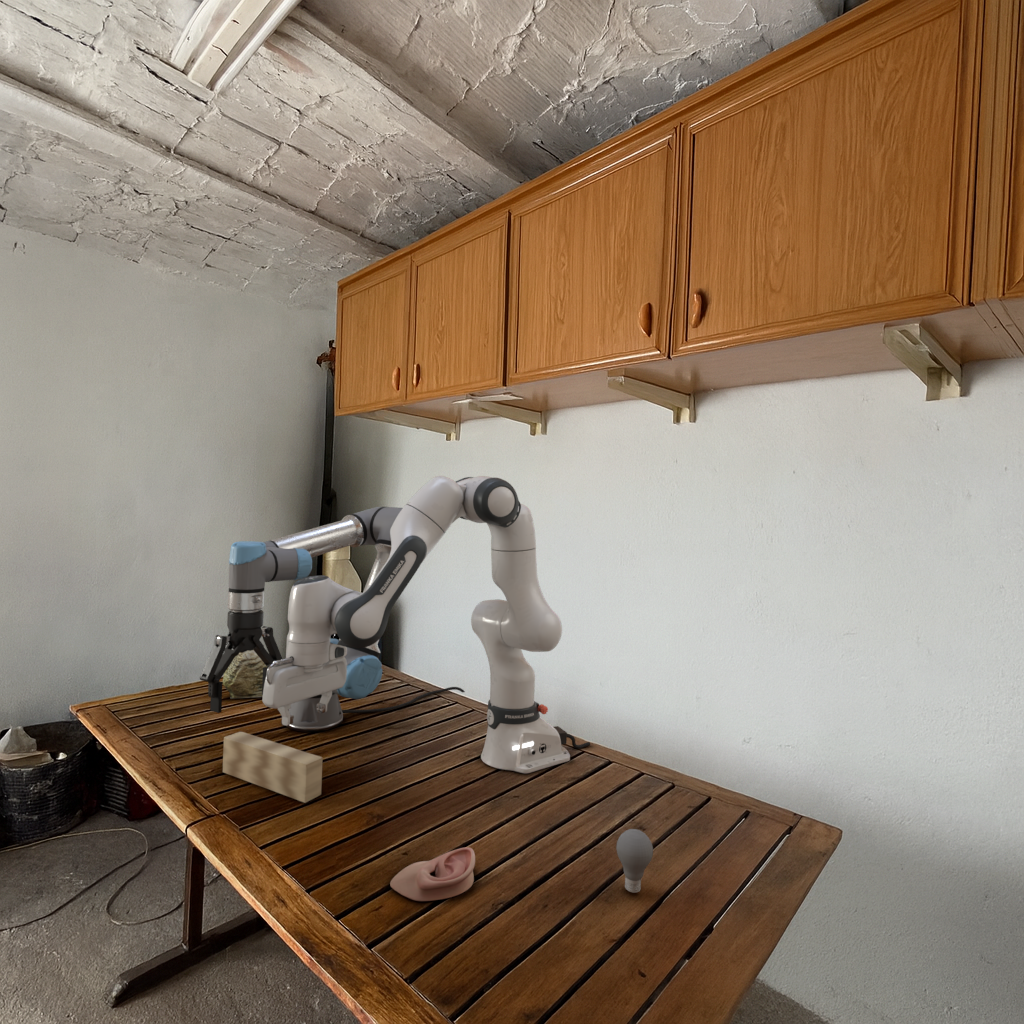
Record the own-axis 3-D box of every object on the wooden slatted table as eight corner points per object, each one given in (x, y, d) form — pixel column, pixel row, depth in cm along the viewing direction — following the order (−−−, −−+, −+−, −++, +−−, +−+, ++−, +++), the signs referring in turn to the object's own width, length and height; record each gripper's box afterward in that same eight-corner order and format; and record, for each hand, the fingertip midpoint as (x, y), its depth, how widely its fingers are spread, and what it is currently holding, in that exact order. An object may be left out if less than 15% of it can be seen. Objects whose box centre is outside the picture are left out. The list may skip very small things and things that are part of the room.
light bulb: (610, 879, 108) (613, 822, 108) (644, 879, 109) (647, 822, 109) (619, 902, 102) (622, 840, 102) (655, 901, 103) (658, 840, 103)
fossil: (218, 695, 195) (220, 647, 195) (278, 685, 208) (279, 640, 207) (228, 703, 189) (230, 653, 188) (289, 692, 201) (290, 645, 201)
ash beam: (222, 772, 143) (223, 737, 143) (239, 765, 147) (240, 731, 147) (305, 803, 131) (306, 764, 131) (321, 794, 135) (322, 757, 135)
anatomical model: (383, 870, 101) (409, 834, 113) (382, 895, 101) (408, 856, 113) (463, 884, 99) (481, 845, 110) (461, 909, 99) (480, 868, 110)
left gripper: (206, 620, 130) (203, 722, 131) (300, 605, 152) (297, 692, 153) (183, 615, 134) (180, 714, 134) (278, 601, 156) (275, 687, 156)
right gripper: (279, 665, 123) (275, 735, 123) (352, 646, 141) (349, 708, 141) (256, 659, 126) (253, 729, 126) (331, 642, 144) (328, 703, 144)
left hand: (242, 703), depth 144 cm, fingers open, 13 cm apart
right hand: (305, 718), depth 134 cm, fingers open, 8 cm apart
